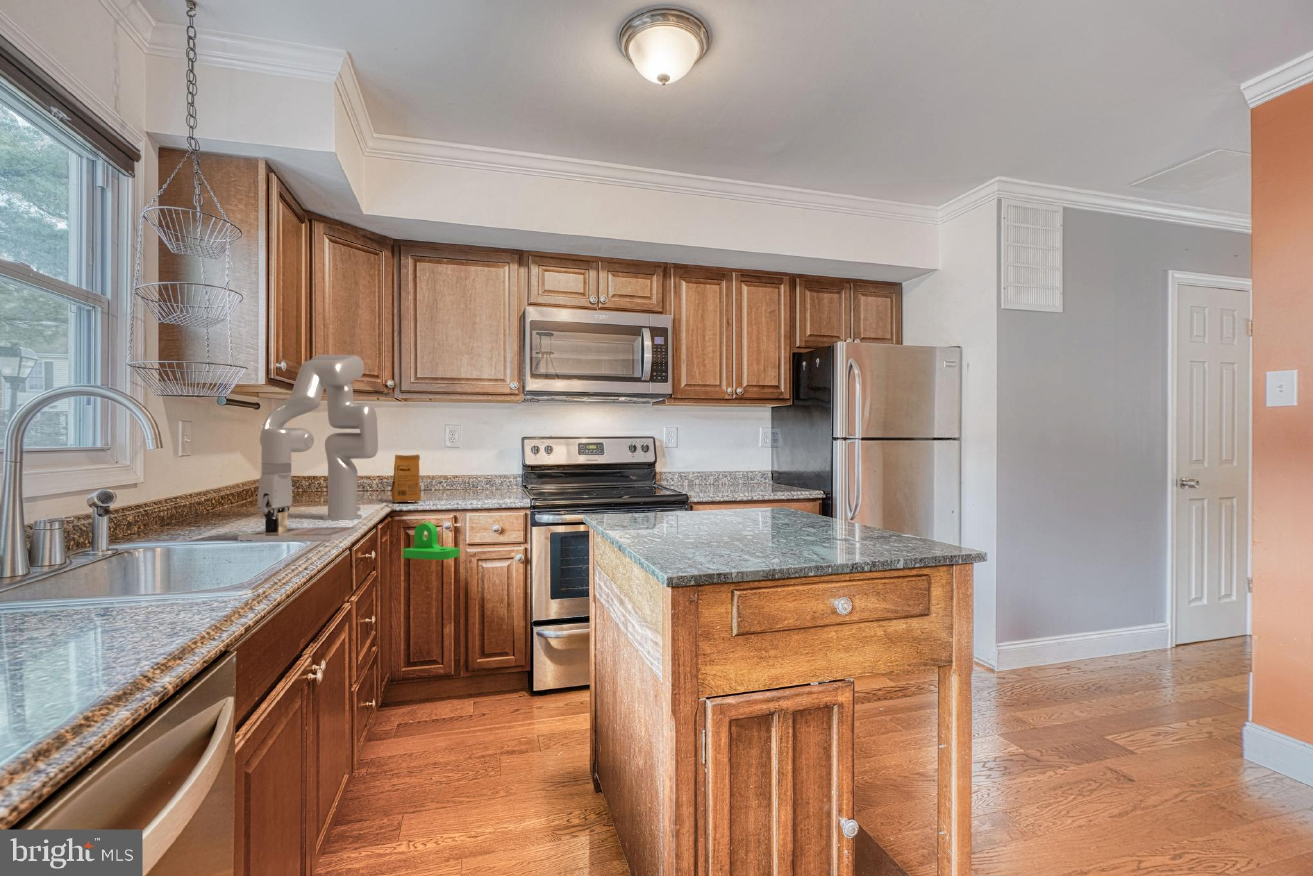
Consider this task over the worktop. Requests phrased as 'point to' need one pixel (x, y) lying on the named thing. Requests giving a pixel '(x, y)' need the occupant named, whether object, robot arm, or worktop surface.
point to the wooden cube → (280, 523)
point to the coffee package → (406, 479)
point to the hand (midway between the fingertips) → (276, 530)
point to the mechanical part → (428, 545)
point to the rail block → (302, 534)
